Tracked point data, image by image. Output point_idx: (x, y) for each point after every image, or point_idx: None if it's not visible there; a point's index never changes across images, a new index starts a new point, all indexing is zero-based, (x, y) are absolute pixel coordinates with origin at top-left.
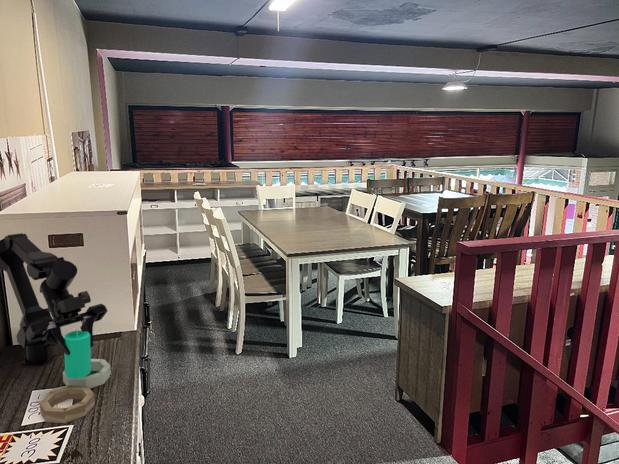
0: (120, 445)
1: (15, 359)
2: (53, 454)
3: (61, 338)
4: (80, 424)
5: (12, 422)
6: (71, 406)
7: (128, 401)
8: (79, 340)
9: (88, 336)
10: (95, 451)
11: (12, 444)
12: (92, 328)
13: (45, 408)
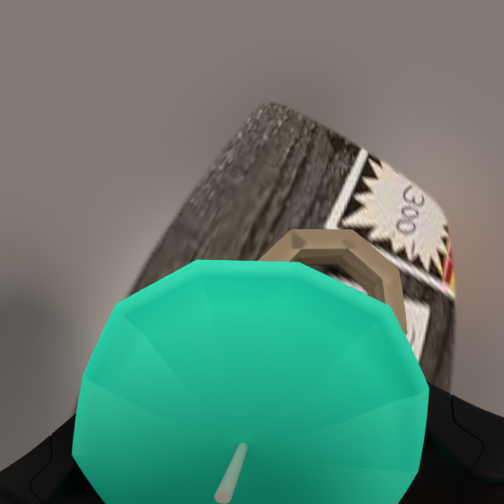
0: (261, 119)
1: None
2: (373, 164)
3: (462, 427)
4: (310, 218)
5: (444, 335)
6: (330, 244)
7: (167, 238)
8: (268, 268)
9: (120, 304)
10: (305, 129)
11: (441, 243)
12: (20, 460)
13: (396, 283)
